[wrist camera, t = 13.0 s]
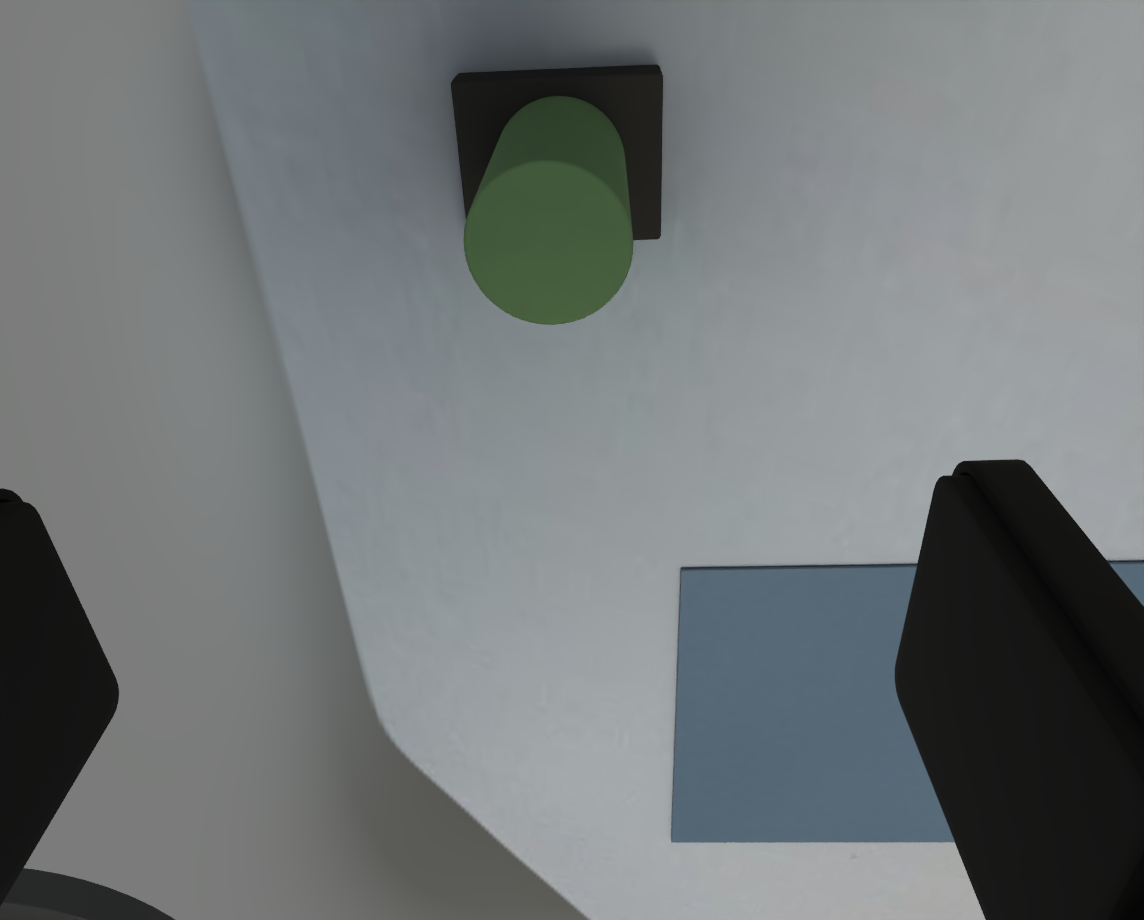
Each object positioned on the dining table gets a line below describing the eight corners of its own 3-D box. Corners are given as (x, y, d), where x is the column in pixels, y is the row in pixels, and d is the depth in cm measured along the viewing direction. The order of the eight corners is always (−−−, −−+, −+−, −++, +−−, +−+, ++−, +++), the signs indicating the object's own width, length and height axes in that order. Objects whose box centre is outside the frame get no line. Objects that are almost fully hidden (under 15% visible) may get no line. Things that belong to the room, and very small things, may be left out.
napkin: (671, 840, 38) (671, 842, 38) (681, 568, 30) (681, 570, 30) (1151, 839, 38) (1152, 842, 37) (1308, 558, 29) (1310, 560, 29)
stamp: (474, 231, 23) (430, 348, 17) (456, 72, 21) (400, 142, 15) (658, 225, 23) (679, 341, 17) (660, 63, 21) (684, 131, 15)
